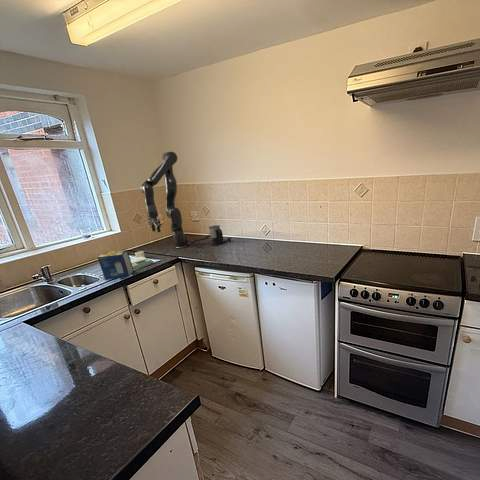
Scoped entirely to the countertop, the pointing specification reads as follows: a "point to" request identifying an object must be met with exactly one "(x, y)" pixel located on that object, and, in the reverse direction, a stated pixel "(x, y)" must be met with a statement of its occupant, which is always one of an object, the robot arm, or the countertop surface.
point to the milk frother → (217, 235)
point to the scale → (140, 262)
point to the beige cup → (140, 254)
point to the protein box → (115, 264)
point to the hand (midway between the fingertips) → (156, 231)
